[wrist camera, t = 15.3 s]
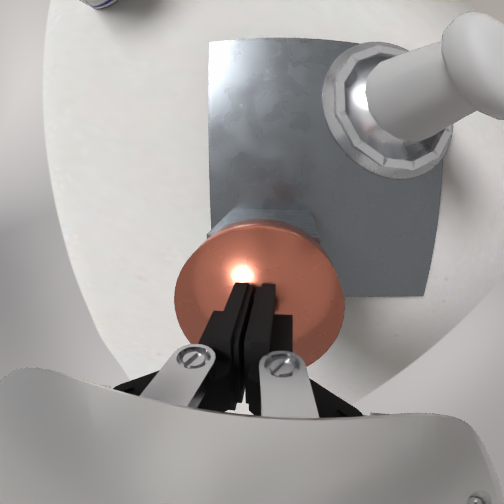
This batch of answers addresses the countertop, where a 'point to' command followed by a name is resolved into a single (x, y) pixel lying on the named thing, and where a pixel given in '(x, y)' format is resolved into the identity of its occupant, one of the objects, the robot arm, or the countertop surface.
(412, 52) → the salt shaker
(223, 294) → the disc
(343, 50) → the base
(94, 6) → the energy drink
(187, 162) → the countertop surface
